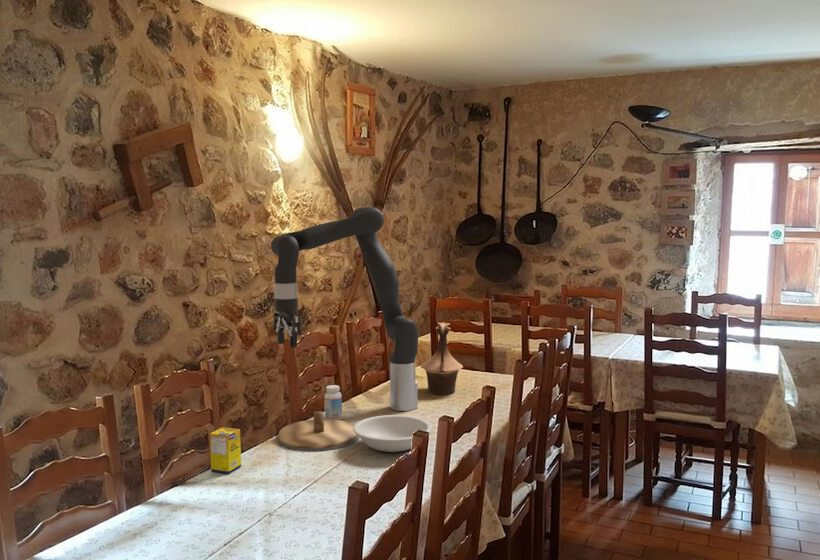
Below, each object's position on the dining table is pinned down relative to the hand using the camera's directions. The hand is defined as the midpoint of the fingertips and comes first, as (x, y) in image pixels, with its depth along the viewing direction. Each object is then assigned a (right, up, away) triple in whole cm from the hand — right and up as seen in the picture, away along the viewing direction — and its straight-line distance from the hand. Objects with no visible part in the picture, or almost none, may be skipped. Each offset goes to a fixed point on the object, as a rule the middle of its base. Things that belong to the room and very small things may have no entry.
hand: (287, 345), depth 217 cm
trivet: (+11, -28, -7) cm, 31 cm away
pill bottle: (+14, -27, +13) cm, 33 cm away
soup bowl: (+35, -30, -16) cm, 49 cm away
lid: (+11, -28, -7) cm, 31 cm away
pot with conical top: (+53, -23, +47) cm, 75 cm away
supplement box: (-11, -31, -34) cm, 47 cm away
